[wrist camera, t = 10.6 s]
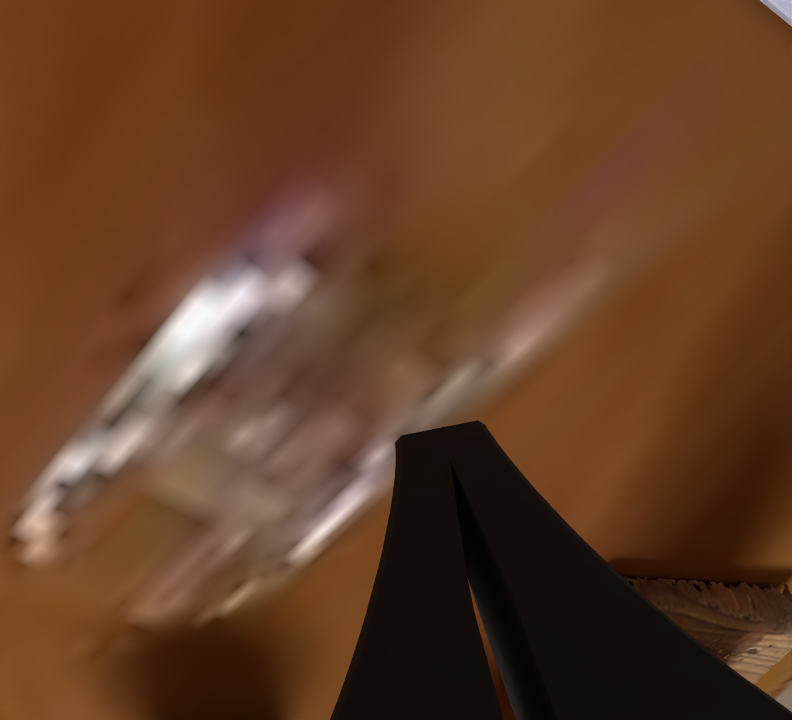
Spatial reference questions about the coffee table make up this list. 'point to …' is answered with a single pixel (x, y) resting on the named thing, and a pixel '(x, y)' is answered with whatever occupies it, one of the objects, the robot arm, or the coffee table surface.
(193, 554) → the coffee table surface
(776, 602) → the bird sculpture
